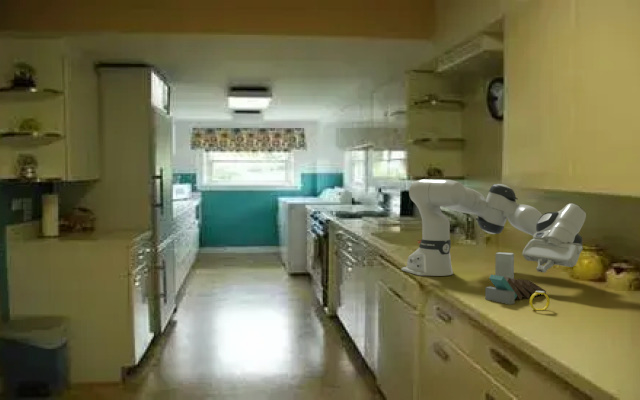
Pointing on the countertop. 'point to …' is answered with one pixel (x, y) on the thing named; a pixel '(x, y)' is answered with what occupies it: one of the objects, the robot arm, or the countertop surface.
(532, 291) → the domino
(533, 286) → the domino
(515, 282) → the domino
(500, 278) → the domino
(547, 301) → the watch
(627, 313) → the countertop surface
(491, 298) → the end block
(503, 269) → the skincare box
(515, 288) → the domino
